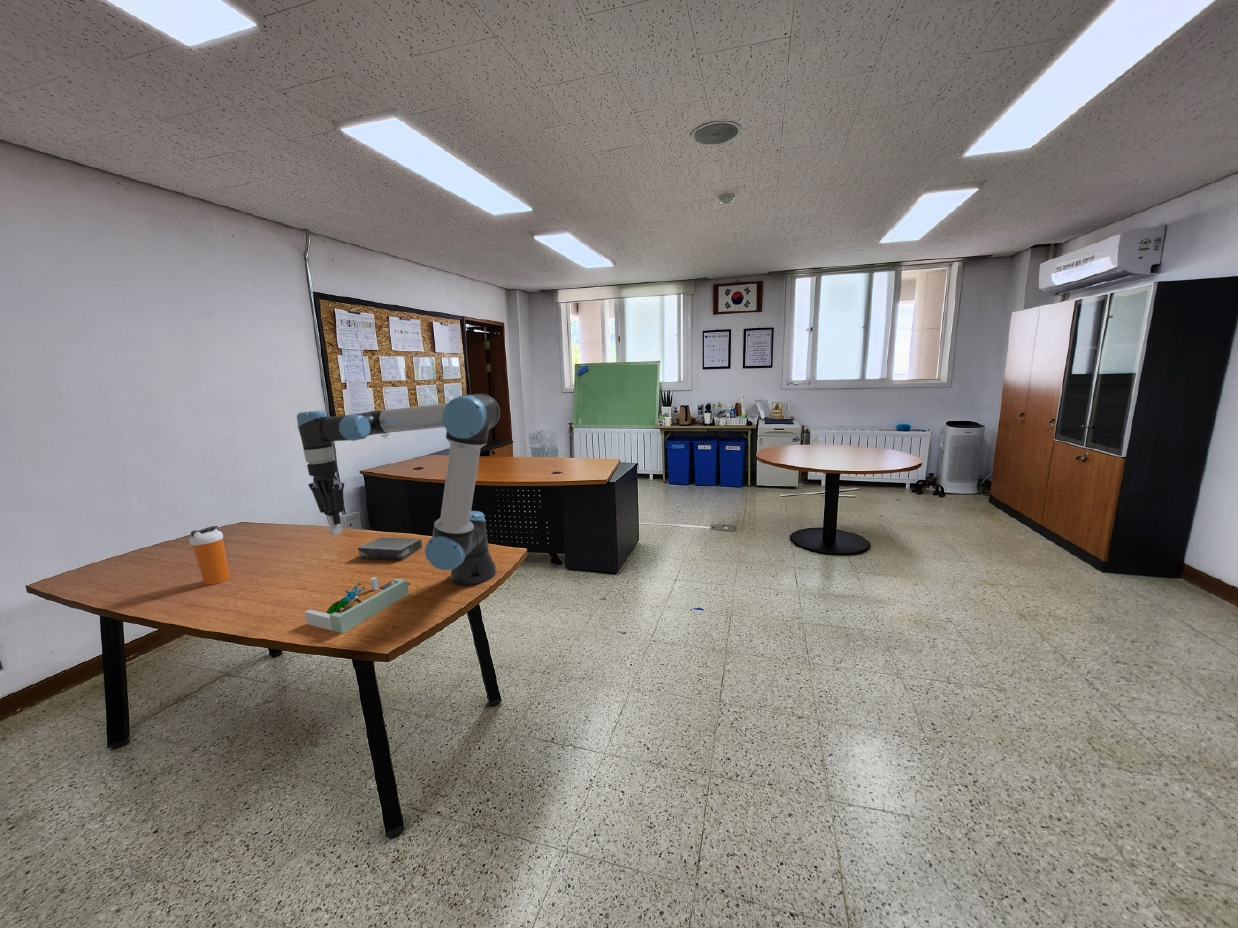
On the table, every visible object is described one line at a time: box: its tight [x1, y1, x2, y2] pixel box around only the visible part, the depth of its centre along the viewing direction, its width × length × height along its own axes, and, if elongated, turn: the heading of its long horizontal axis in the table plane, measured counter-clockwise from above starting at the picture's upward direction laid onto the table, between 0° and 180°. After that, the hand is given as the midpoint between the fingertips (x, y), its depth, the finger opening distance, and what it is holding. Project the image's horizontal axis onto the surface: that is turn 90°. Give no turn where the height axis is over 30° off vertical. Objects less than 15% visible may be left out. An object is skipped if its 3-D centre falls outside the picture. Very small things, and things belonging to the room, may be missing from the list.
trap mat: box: [379, 579, 411, 590], centre depth 150 cm, size 8×6×1 cm
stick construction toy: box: [325, 582, 366, 614], centre depth 136 cm, size 12×7×8 cm
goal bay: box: [330, 578, 410, 634], centre depth 133 cm, size 4×23×5 cm, turn 158°
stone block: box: [357, 536, 423, 562], centre depth 179 cm, size 14×20×5 cm
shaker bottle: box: [188, 525, 231, 586], centre depth 159 cm, size 9×9×20 cm
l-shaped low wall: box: [304, 576, 394, 632], centre depth 136 cm, size 11×23×4 cm, turn 158°
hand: (336, 533), depth 140 cm, fingers closed
